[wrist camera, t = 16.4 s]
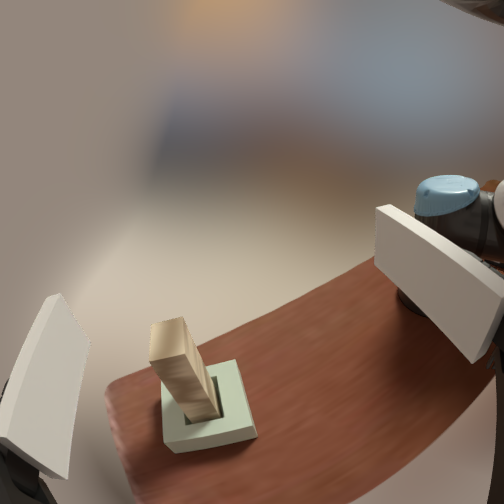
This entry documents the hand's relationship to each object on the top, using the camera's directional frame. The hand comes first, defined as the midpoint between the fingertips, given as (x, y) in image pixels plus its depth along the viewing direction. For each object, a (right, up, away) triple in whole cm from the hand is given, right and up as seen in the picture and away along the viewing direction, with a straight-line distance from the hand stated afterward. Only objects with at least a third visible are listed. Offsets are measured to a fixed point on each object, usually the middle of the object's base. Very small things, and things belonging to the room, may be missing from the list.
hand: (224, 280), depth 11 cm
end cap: (-5, -23, +28) cm, 36 cm away
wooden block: (-5, -22, +27) cm, 35 cm away
